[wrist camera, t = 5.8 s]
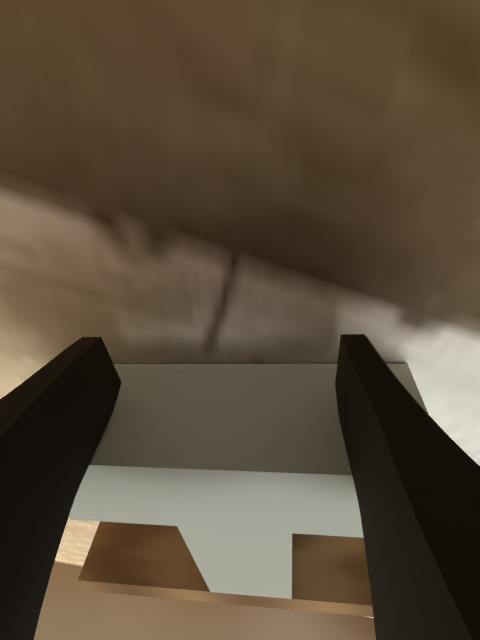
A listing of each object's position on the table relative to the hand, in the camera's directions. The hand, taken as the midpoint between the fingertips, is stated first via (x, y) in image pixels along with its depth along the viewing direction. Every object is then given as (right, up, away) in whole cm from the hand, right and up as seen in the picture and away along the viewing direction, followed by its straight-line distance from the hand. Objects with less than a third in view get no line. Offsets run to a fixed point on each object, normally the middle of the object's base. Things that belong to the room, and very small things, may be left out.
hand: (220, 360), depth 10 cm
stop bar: (+1, -11, +10) cm, 15 cm away
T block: (+1, -5, +6) cm, 8 cm away
